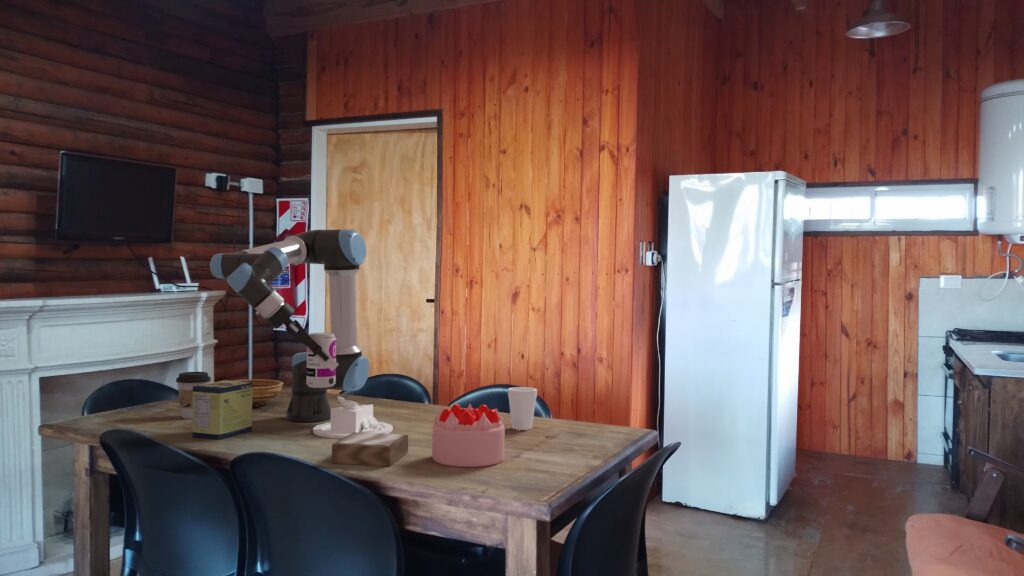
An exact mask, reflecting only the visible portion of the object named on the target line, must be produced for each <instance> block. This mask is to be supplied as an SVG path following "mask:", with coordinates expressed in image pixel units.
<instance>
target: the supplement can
mask: <svg viewBox="0 0 1024 576" xmlns="http://www.w3.org/2000/svg"><path fill="white" fill-rule="evenodd" d="M308 335H309V336H310V337H311V338H312V339H313V340H314V341H315V342H316V343H317V344H318V345H319V346H321V347H322V348H323V349H324V350H325V351H326V352H327V353H328V354H329V355H330V356H331V357H332V358H333V359H334V360H335V361H336V338H335V336H334V333H331V332H311V333H308ZM315 348H316V347H315ZM315 348H314V349H315ZM306 352H307V375H306V384H307V385H308V386H309V387H313V388H326V387H332V386H334V384H336V368H335V369H334V370H333V371H331V370H330V369H329V368H328V367H327V366H326V365H325V364H324V363H323V362H322V361H321V360H320V359H319V358H318V357H317V356H315V357H314V356H312V355H313V354H314V353H313V352H312V351H311V350H310V349H309V348H308V347H307V346H306Z"/></svg>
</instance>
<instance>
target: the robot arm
mask: <svg viewBox="0 0 1024 576" xmlns="http://www.w3.org/2000/svg"><path fill="white" fill-rule="evenodd" d="M366 246H367V245H366V242H365V240H364V237H363V236H362V235H361V234H360V232H358V231H357V230H355V229H346V228H341V229H312V230H308V231H305V232H300V233H297V234H294V235H289V236H286V237H285V238H284V239H283V240H281V241H277V242H272V243H268V244H264V245H261V246H256V247H252V248H247V249H243V250H240V251H234V252H228V253H227V252H222V253H221V252H220V253H216V254H214V255H213V256H212V257H211V260H210V261H209V262H210V263H209V267H210V268H209V269H210V270H209V271H210V272H211V274H212V276H213V277H214V278H217V279H222V280H226V282H227V284H228V285H229V287H231V289H233V290H234V291H235V293H236V294H237V295H239V296H240V297H241V298H242V299H243V300H244V301H245V302H246V303H248V305H249V306H251V307H252V309H254V310H256V312H255V314H256V315H257V316H259V314H260V316H261V317H263V319H266V322H267V323H268V324H270V326H271V327H272V328H273V329H276V330H277V329H278V328H280V327H281V326H283V324H284V325H285V331H286V332H287V333H288V334H289V335H291V336H293V337H294V338H295V339H296V340H299V341H300V342H301V343H302V344H303V345H304V346H306V348H307V347H308V348H309V349H310V350H311V351H312V352H313V353H314V354H313V355H312V356H314V357H315V356H317V357H318V358H319V359H320V360H321V361H322V362H323V363H324V364H325V365H326V366H327V367H328V368H329V369H330V370H331V371H333V370H334V369H335V368H336V384H334V386H332V387H326V388H313V387H309V386H308V385H307V384H306V375H307V351H304V352H297V353H295V354H294V355H292V360H291V361H292V362H291V398H290V401H289V404H288V406H287V410H286V413H285V414H286V415H285V417H286V421H290V422H296V423H297V422H298V423H311V422H312V423H313V422H314V423H315V422H323V421H328V420H331V408H332V407H331V405H330V402H329V399H328V396H327V395H328V391H327V390H334V391H346V392H353V391H358V390H360V389H362V388H363V387H364V385H365V384H366V382H367V380H368V379H369V378H368V377H369V374H370V362H369V359H368V358H367V357H366V356H363V352H362V351H363V349H362V348H361V347H359V346H358V330H357V326H358V325H357V298H356V297H357V296H356V295H357V293H356V292H357V290H356V275H357V273H358V272H359V271H360V265H362V264H364V263H365V261H366V257H367V247H366ZM289 264H291V265H294V266H295V265H300V264H311V265H323V271H324V272H325V273H326V274H327V276H328V283H329V284H328V285H329V287H328V290H329V294H328V295H329V316H330V317H329V321H330V323H329V324H330V333H334V336H335V338H336V361H335V360H334V359H333V358H332V357H331V356H330V355H329V354H328V353H327V352H326V351H325V350H324V349H323V348H322V347H321V346H319V345H318V344H317V343H316V342H315V341H314V340H313V339H312V338H311V337H310V336H309V333H307V330H306V329H305V328H304V327H303V326H302V325H301V324H300V322H299V321H298V320H297V319H294V320H292V319H291V317H292V316H293V315H294V313H295V311H296V310H295V308H294V307H292V306H291V305H290V304H289V303H288V302H287V301H285V298H284V297H282V296H281V294H280V293H278V292H277V290H276V289H274V288H273V287H272V286H271V283H273V282H274V281H275V280H276V279H277V278H278V277H279V276H280V275H281V274H283V272H284V271H285V269H286V268H287V266H288V265H289ZM315 347H316V348H315ZM314 348H315V349H314Z"/></svg>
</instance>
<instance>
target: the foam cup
mask: <svg viewBox="0 0 1024 576" xmlns="http://www.w3.org/2000/svg"><path fill="white" fill-rule="evenodd" d="M507 396H508V400H509V401H508V402H509V413H510V420H511V429H512V428H513V429H512V430H514V429H516V430H515V431H520V430H525V431H527V430H526V429H531V428H532V427H533V423H534V415H535V409H536V402H537V397H538V388H534V387H530V386H529V387H525V386H517V387H516V386H514V387H509V388H508V389H507ZM531 430H532V429H531Z"/></svg>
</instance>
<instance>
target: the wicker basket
mask: <svg viewBox="0 0 1024 576" xmlns="http://www.w3.org/2000/svg"><path fill="white" fill-rule="evenodd" d="M232 381H243V382H253V383H252V406H256V407H260V406H259V405H262V406H264V405H263V404H265V405H266V403H267V402H268V401H270V400H272V399H275V398H277V396H278V395H280V393H281V392H282V389H283V386H284V382H282V381H280V380H274V379H259V378H258V379H257V378H255V379H254V378H253V379H250V378H249V379H235V380H232Z"/></svg>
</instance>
